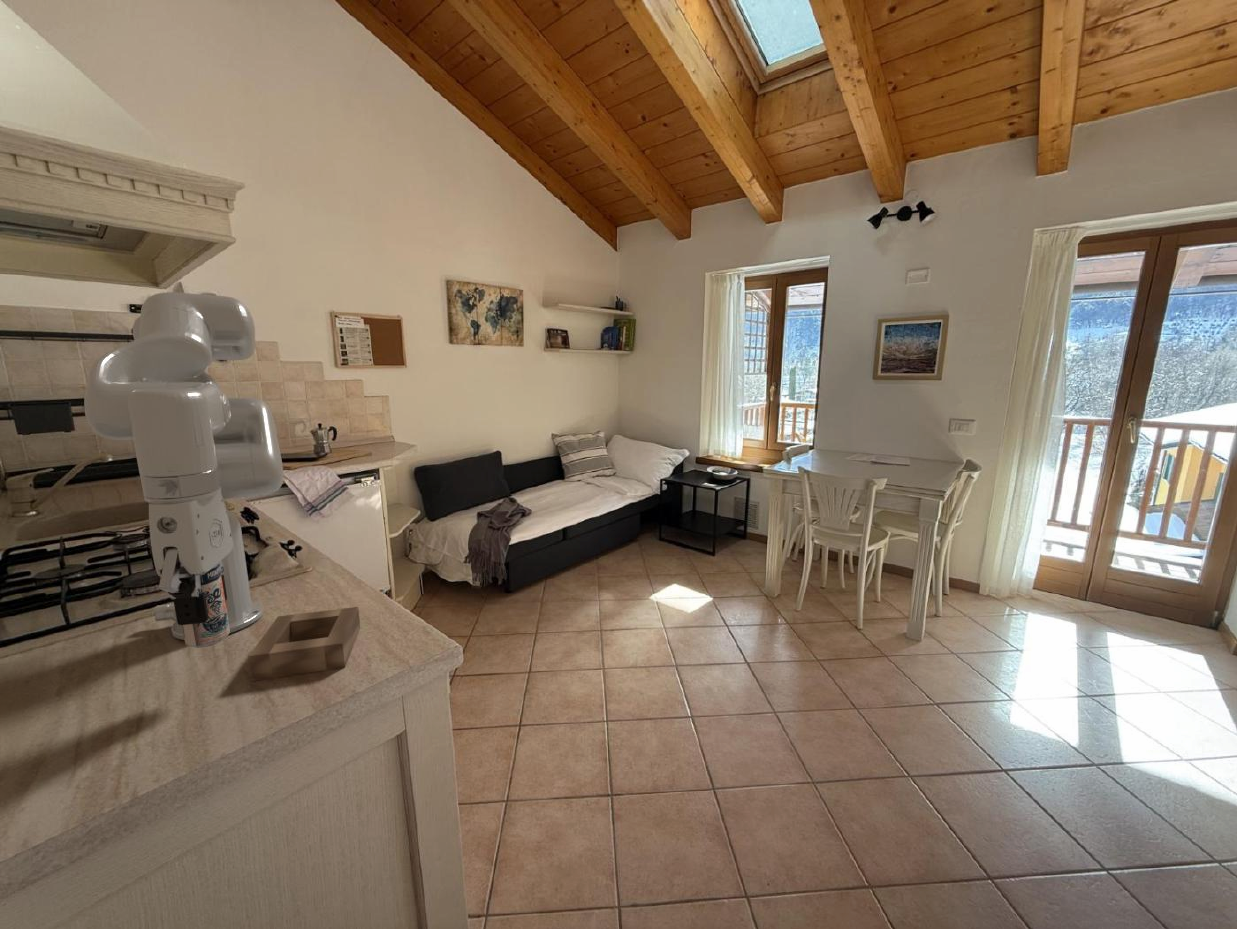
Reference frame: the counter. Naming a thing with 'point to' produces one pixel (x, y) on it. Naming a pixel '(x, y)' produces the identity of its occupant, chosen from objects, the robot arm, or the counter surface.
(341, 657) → the walnut socket block
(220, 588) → the beer can
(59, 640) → the counter surface
